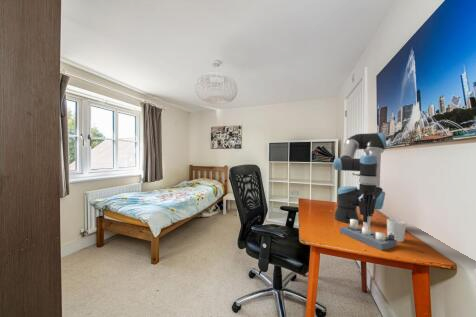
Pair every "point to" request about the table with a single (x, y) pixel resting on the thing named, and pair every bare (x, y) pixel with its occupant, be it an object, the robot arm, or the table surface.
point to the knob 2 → (380, 236)
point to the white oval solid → (366, 231)
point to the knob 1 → (353, 224)
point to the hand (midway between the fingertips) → (366, 227)
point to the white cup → (396, 229)
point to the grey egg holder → (369, 238)
